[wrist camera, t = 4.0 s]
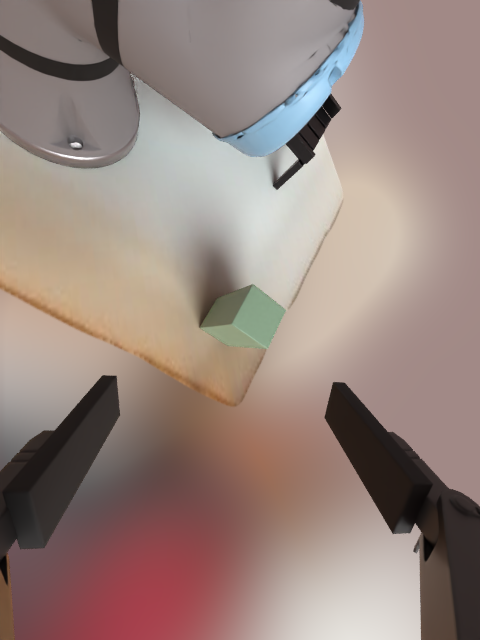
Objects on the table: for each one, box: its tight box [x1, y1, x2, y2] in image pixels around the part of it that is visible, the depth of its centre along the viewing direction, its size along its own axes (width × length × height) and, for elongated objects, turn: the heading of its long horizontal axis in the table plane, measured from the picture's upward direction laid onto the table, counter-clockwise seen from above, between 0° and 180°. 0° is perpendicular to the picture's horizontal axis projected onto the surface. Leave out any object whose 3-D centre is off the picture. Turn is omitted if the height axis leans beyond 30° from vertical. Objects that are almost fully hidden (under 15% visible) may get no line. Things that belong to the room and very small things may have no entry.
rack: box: [273, 93, 341, 190], centre depth 36 cm, size 12×12×9 cm
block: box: [200, 284, 286, 349], centre depth 29 cm, size 5×5×10 cm
